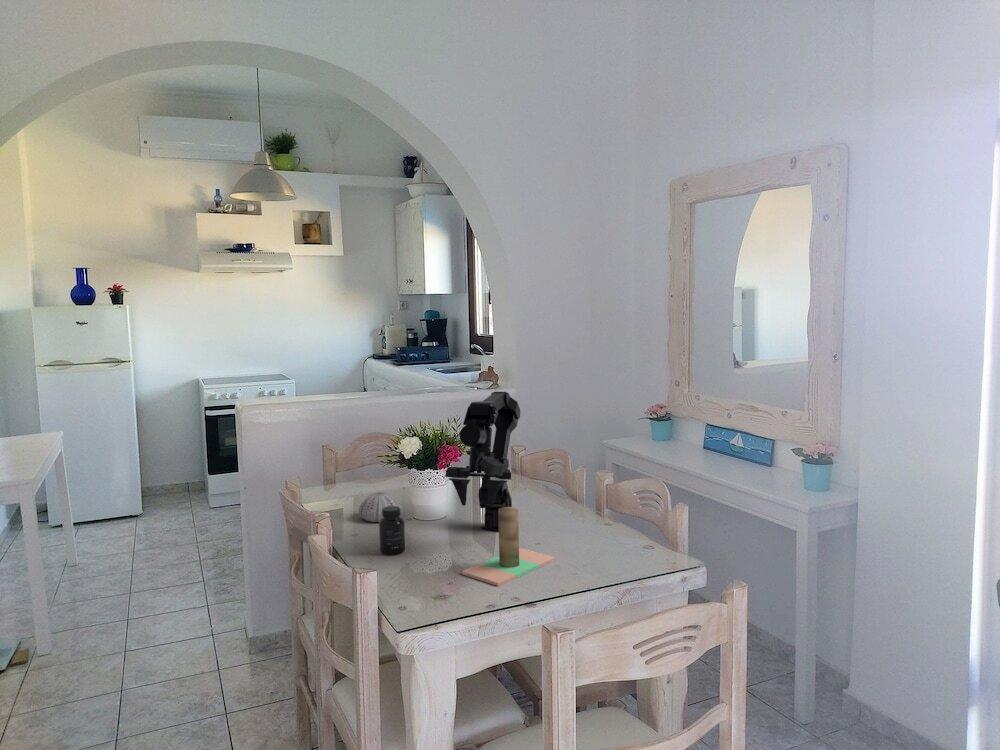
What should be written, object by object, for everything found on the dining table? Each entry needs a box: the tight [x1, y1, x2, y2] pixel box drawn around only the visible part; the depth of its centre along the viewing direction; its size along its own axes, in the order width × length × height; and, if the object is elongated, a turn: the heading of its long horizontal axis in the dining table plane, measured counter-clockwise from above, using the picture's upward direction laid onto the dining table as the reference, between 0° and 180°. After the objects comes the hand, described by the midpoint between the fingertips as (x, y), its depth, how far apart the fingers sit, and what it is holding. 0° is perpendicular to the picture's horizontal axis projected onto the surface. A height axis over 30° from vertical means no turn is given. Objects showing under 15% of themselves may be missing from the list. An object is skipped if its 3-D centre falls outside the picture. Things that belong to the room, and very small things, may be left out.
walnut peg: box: [498, 506, 520, 568], centre depth 182 cm, size 5×5×14 cm
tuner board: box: [461, 547, 556, 587], centre depth 183 cm, size 22×12×1 cm, turn 139°
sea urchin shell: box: [358, 491, 402, 523], centre depth 227 cm, size 13×14×8 cm
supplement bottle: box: [378, 506, 406, 557], centre depth 195 cm, size 7×7×12 cm
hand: (477, 505), depth 197 cm, fingers open, 9 cm apart
